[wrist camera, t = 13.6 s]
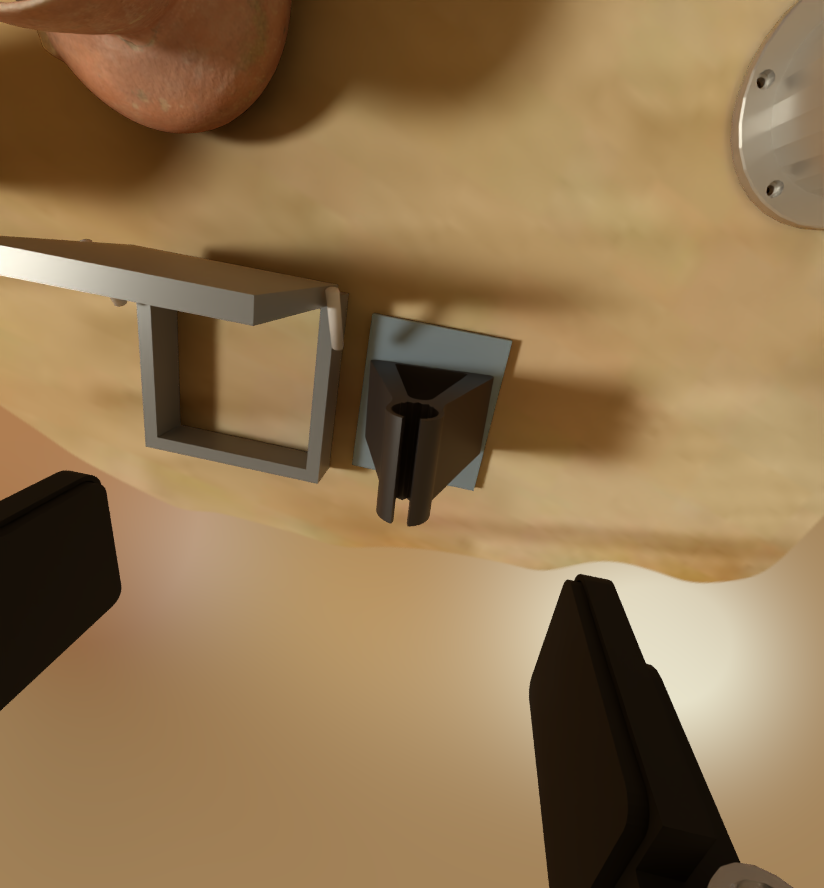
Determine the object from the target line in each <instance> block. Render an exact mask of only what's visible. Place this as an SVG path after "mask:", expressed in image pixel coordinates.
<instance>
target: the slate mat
mask: <svg viewBox="0 0 824 888" xmlns="http://www.w3.org/2000/svg"><path fill="white" fill-rule="evenodd" d="M511 344H512V340H509V339H504V338H499V337H494V336H489V335H483V334H478V333H473V332H468V331H463V330H458V329H453V328H448V327H443V326H438V325H432V324H427V323H422V322H417V321H412V320H407V319H402V318H397V317H392V316H387V315H381V314H376V313H373V314H372V321H371V328H370V336H369V343H368V350H367V358H366V365H365V373H364V380H363V388H362V395H361V403H360V410H359V417H358V425H357V432H356V440H355V447H354V455H353V462H352V465H355V466H360V467H365V468H369V469H374V470H376V469H375V466H374V463H373V460H372V457H371V454H370V451H369V448H368V444H367V441H366V438H365V428H366V414H367V401H368V388H369V375H370V362H371V360H382V361H389V362H397V363H404V364H411V365H418V366H426V367H430V368H440V369H447V370H455V371H462V372H469V373H477V374H484V375H491V376H493V377H494V380H493V385H492V391H491V396H490V402H489V407H488V413H487V418H486V423H485V429H484V434H483V440H482V445H481V450H480V454H479V455H478V456H477V457H476V458H475V459H474V460H473V461H472V462H471V463H470V464H469V465H468V466H467V467H465V468H464V469H463V470H462V471H461V472H460V473H459V474H458V475H457V476H456V477H455V478H454V479H453V480H452V481H451V482H450V483H449V484H448V485H449V486H453V487H458V488H463V489H467V490H472V491H474V487H475V483H476V479H477V475H478V472H479V468H480V464H481V460H482V456H483V452H484V448H485V445H486V441H487V437H488V433H489V429H490V425H491V421H492V418H493V414H494V410H495V406H496V402H497V398H498V394H499V390H500V387H501V383H502V379H503V375H504V371H505V367H506V363H507V360H508V356H509V352H510V348H511Z"/></svg>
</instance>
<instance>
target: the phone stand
mask: <svg viewBox="0 0 824 888" xmlns="http://www.w3.org/2000/svg"><path fill="white" fill-rule="evenodd" d="M493 380H494V377H493V376H491V375H484V374H477V373H469V372H462V371H455V370H447V369H440V368H430V367H426V366H418V365H411V364H404V363H397V362H389V361H382V360H371V362H370V375H369V388H368V401H367V414H366V428H365V438H366V441H367V444H368V448H369V451H370V454H371V457H372V460H373V463H374V466H375V469H376V472H377V475H378V478H379V486H378V497H377V508H376V511H377V514H378V516H379V517H380V518H381V519H383V520H384V521H386V522H388V523H390V524H391V523H392V522H393V518H394V509H395V500H396V498H399V499H401V500H403V499H406V498H407V499H408V500H409V501H410V502H409V510H408V518H407V525H408V526H416V525H420V524H422V523H424V522H426V521H427V520H428V518H429V516H430V509H431V502H432V500H433V499H434V498H435V497H436V496H437V495H438V494H439V493H440V492H441V491H442V490H443V489H444V488H445V487H446V486H447V485H448V484H449V483H450V482H451V481H452V480H453V479H454V478H455V477H456V476H457V475H458V474H459V473H460V472H461V471H462V470H463V469H464V468H465V467H467V466H468V465H469V464H470V463H471V462H472V461H473V460H474V459H475V458H476V457H477V456H478V455H479V454H480V450H481V445H482V440H483V434H484V429H485V423H486V418H487V413H488V407H489V402H490V396H491V391H492V385H493Z"/></svg>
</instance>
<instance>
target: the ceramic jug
mask: <svg viewBox="0 0 824 888" xmlns="http://www.w3.org/2000/svg"><path fill="white" fill-rule="evenodd" d="M16 1H18V2H10V3H4V2H0V22H4V23H7V24H11V25H15V26H19V27H24V28H29V29H34V30H38V34H39V37H40V40H41V43H42V46H43V47H44V49H45V50H46V51H48V52H49V53H50V54H51V55H53V56H55V57H56V58H58V59H60V60H62V61H63V62H65V63H66V64H67V65H68V66H69V68H70V69H71V70H72V72H73V73H74V74H75V75H76V76H77V77H78V78H79V80H80V81H81V82H82V83H83V84H84V85H85V86H86V87H87V88H88V89H89V90H90V91H91V92H92V93H93V94H94V95H96V96H97V97H98V98H99V99H100V100H102V101H103V102H104V103H105V104H107V105H108V106H110V107H111V108H112V109H114V110H115V111H117V112H118V113H120V114H122V115H123V116H125V117H127V118H129V119H130V120H132V121H135V122H137V123H139V124H141V125H144V126H146V127H149V128H152V129H156V130H160V131H164V132H170V133H197V132H204V131H209V130H213V129H215V128H218V127H221V126H223V125H225V124H227V123H229V122H231V121H232V120H234V119H235V118H237V117H238V116H240V115H241V114H242V113H243V112H245V111H246V110H247V109H248V108H249V107H250V106H251V105H252V104H253V103H254V102H255V101H256V100H257V99H258V97H259V96H260V95H261V94H262V92H263V91H264V89H265V88H266V86H267V85H268V83H269V81H270V80H271V78H272V76H273V74H274V72H275V70H276V68H277V65H278V63H279V60H280V58H281V55H282V52H283V49H284V46H285V42H286V38H287V33H288V27H289V21H290V14H291V0H16Z"/></svg>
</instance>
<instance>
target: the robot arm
mask: <svg viewBox="0 0 824 888" xmlns="http://www.w3.org/2000/svg"><path fill="white" fill-rule="evenodd" d="M757 81H759V82H760V88H758V86H757ZM731 148H732V157H733V164H734V167H735V170H736V173H737V176H738V179H739V182H740V184H741V186H742V187H743V189H744V191H745V192H746V194H747V195H748V197H749V199H750V200H751V201H752V202H753V203H754V204H755V205H756V206H757V207H758V208H759V209H760V210H761V211H762V212H763V213H765V214H766V215H768V216H770V217H772V218H773V219H775V220H777V221H779V222H780V223H784V224H787V225H790V226H794V227H797V228H803V229H817V230H824V0H798V1H797V2H796V3H795V4H794V5H793V6H792V7H791V8H790V9H789V10H788V11H786V12H785V13H784V15H783V16H782V17H781V19H780V20H779V21H778V22H777V24H776V25H775V26H774V27H773V29H772V30H771V31H770V32H769V34H768V35H767V36H766V37H765V39H764V41H763V42H762V44H761V46H760V47H759V49H758V51H757V53H756V54H755V56H754V58H753V59H752V61H751V63H750V65H749V67H748V69H747V72H746V74H745V77H744V79H743V82H742V84H741V86H740V89H739V92H738V96H737V100H736V104H735V108H734V112H733V116H732V129H731ZM767 187H769V189H770V191H769V193H768V195H767V193H766V191H767ZM120 593H121V581H120V575H119V568H118V563H117V556H116V550H115V544H114V537H113V531H112V524H111V518H110V512H109V507H108V500H107V493H106V490H105V488H104V487H103V486H102V485H101V483H100V480H99V479H98V478H97V477H95V476H93V475H88V474H83V473H78V472H73V471H60V472H58V473H55V474H53V475H51V476H49V477H47V478H45V479H43V480H41V481H39V482H37V483H35V484H33V485H31V486H29V487H27V488H25V489H23V490H21V491H19V492H17V493H15V494H13V495H11V496H9V497H7V498H5V499H3V500H1V501H0V711H1V710H2V709H3V708H4V707H5V706H6V705H7V704H8V703H9V702H10V701H11V700H12V699H14V698H15V697H16V696H17V694H19V693H20V692H21V691H22V690H23V689H24V688H25V687H26V686H27V685H29V683H31V682H32V681H33V680H34V679H35V678H36V677H37V676H38V675H39V674H40V673H41V672H42V671H44V669H46V668H47V667H48V666H49V665H50V664H51V663H52V662H53V661H54V660H55V659H56V658H57V657H58V656H60V655H61V654H62V653H63V652H64V651H65V650H66V649H67V648H68V647H69V646H70V645H71V644H72V643H73V642H75V641H76V640H77V639H78V638H79V637H80V636H81V635H82V634H83V633H84V632H85V631H86V630H87V629H88V628H89V627H91V626H92V625H93V624H94V623H95V622H96V621H97V620H98V619H99V618H100V617H101V616H102V615H103V614H105V613H106V612H107V611H108V610H109V609H110V608H111V607H112V606H113V605H114V604H115V603H116V601H117V600H118V598H119V596H120ZM529 701H530V711H531V720H532V730H533V739H534V749H535V757H536V767H537V777H538V786H539V796H540V804H541V814H542V823H543V833H544V842H545V852H546V860H547V871H548V879H549V888H793V887H791V886H790V885H789V884H787V883H786V882H785V881H783V880H782V879H781V878H779V877H777V876H776V875H774V874H772V873H769V872H768V871H765V870H763V869H761V868H759V867H757V866H755V865H750V864H743V863H740V861H739V859H738V856H737V854H736V851H735V849H734V847H733V844H732V842H731V840H730V837H729V835H728V833H727V830H726V828H725V826H724V823H723V821H722V819H721V817H720V814H719V812H718V809H717V807H716V805H715V802H714V800H713V798H712V795H711V793H710V791H709V789H708V786H707V784H706V781H705V779H704V777H703V774H702V772H701V770H700V767H699V765H698V763H697V760H696V758H695V756H694V753H693V751H692V749H691V746H690V744H689V742H688V740H687V737H686V735H685V732H684V730H683V728H682V725H681V723H680V721H679V719H678V716H677V714H676V711H675V709H674V707H673V704H672V702H671V700H670V697H669V695H668V693H667V690H666V688H665V686H664V683H663V681H662V679H661V677H660V675H659V673H658V672H657V670H656V669H655V668H654V667H653V666H652V665H649V664H646V663H645V660H644V658H643V655H642V653H641V650H640V648H639V645H638V643H637V641H636V638H635V636H634V633H633V631H632V628H631V626H630V623H629V621H628V618H627V616H626V613H625V611H624V608H623V606H622V604H621V601H620V599H619V596H618V594H617V591H616V589H615V586H614V584H613V583H612V581H610V580H607V579H602V578H597V577H592V576H587V575H582V574H579V575H577V576H576V578H575V580H574V581H572V580H566V581H565V582H564V585H563V588H562V590H561V593H560V596H559V599H558V602H557V605H556V608H555V611H554V613H553V616H552V619H551V623H550V625H549V628H548V631H547V634H546V637H545V640H544V642H543V646H542V648H541V651H540V654H539V657H538V660H537V663H536V666H535V669H534V672H533V674H532V677H531V681H530V688H529Z"/></svg>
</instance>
